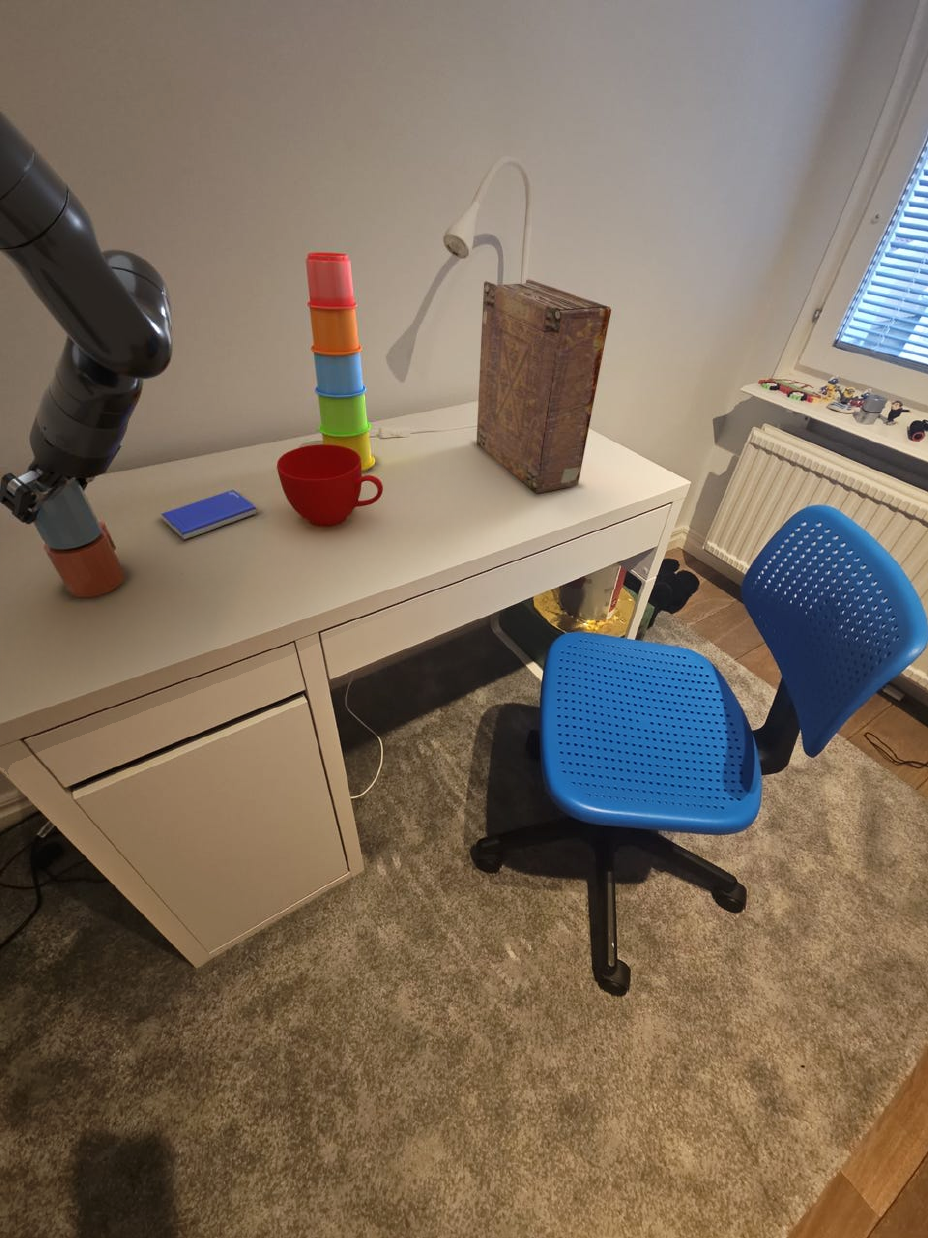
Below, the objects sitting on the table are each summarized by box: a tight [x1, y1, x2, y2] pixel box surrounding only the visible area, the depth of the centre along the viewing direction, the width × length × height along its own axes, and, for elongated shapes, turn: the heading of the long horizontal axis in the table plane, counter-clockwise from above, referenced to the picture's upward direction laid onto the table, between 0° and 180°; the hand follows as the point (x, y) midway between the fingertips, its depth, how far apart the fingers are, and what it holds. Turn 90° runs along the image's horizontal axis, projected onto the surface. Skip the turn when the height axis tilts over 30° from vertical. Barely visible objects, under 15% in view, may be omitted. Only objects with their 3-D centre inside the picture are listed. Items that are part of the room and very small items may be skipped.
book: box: [476, 278, 612, 495], centre depth 99 cm, size 25×9×30 cm, turn 25°
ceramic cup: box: [276, 443, 384, 528], centre depth 87 cm, size 13×17×10 cm
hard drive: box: [160, 489, 258, 541], centre depth 89 cm, size 2×8×12 cm
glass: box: [31, 478, 101, 549], centre depth 68 cm, size 6×6×8 cm
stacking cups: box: [305, 251, 376, 473], centre depth 95 cm, size 10×10×35 cm
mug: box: [43, 521, 126, 598], centre depth 74 cm, size 10×7×7 cm
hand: (48, 504), depth 68 cm, fingers closed on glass, 6 cm apart
